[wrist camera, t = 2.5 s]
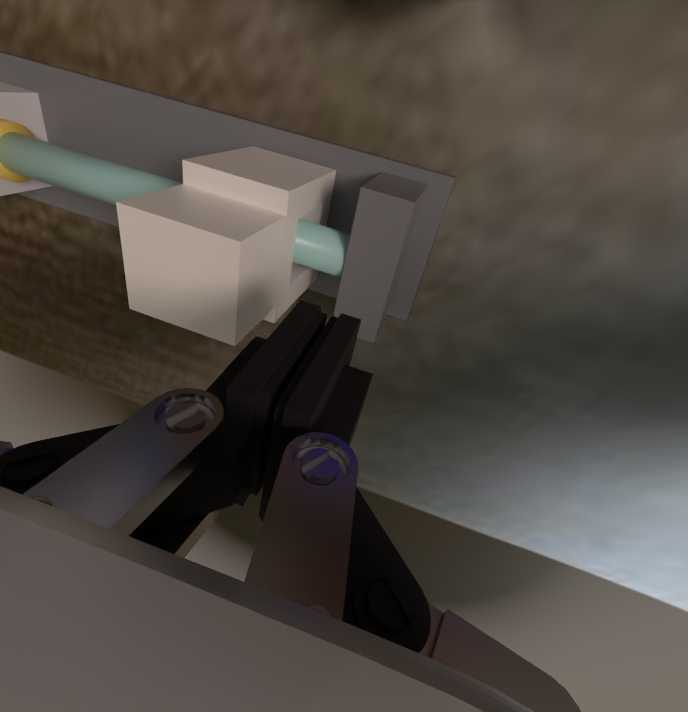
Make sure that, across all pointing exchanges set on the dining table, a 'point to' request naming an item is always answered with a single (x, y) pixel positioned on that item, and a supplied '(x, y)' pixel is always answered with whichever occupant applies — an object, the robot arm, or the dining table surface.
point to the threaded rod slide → (209, 136)
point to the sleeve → (223, 241)
